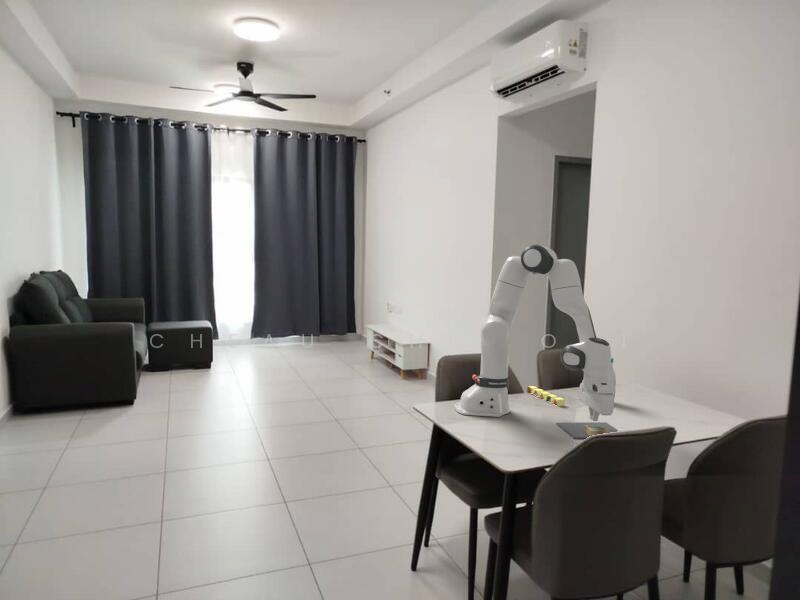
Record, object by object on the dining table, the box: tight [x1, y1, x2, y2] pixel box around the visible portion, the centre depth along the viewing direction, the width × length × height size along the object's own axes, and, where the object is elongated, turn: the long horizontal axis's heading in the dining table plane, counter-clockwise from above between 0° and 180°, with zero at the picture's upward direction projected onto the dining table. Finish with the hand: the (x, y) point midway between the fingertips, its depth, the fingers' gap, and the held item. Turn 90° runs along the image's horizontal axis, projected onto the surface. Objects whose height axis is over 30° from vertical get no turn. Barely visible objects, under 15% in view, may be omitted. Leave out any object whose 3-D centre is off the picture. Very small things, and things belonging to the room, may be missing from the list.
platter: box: [526, 385, 565, 407], centre depth 242 cm, size 32×32×3 cm
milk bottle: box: [609, 357, 617, 399], centre depth 240 cm, size 8×8×20 cm
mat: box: [555, 421, 619, 440], centre depth 202 cm, size 20×16×1 cm
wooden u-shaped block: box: [583, 425, 610, 436], centre depth 198 cm, size 7×2×6 cm
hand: (593, 420), depth 200 cm, fingers closed
